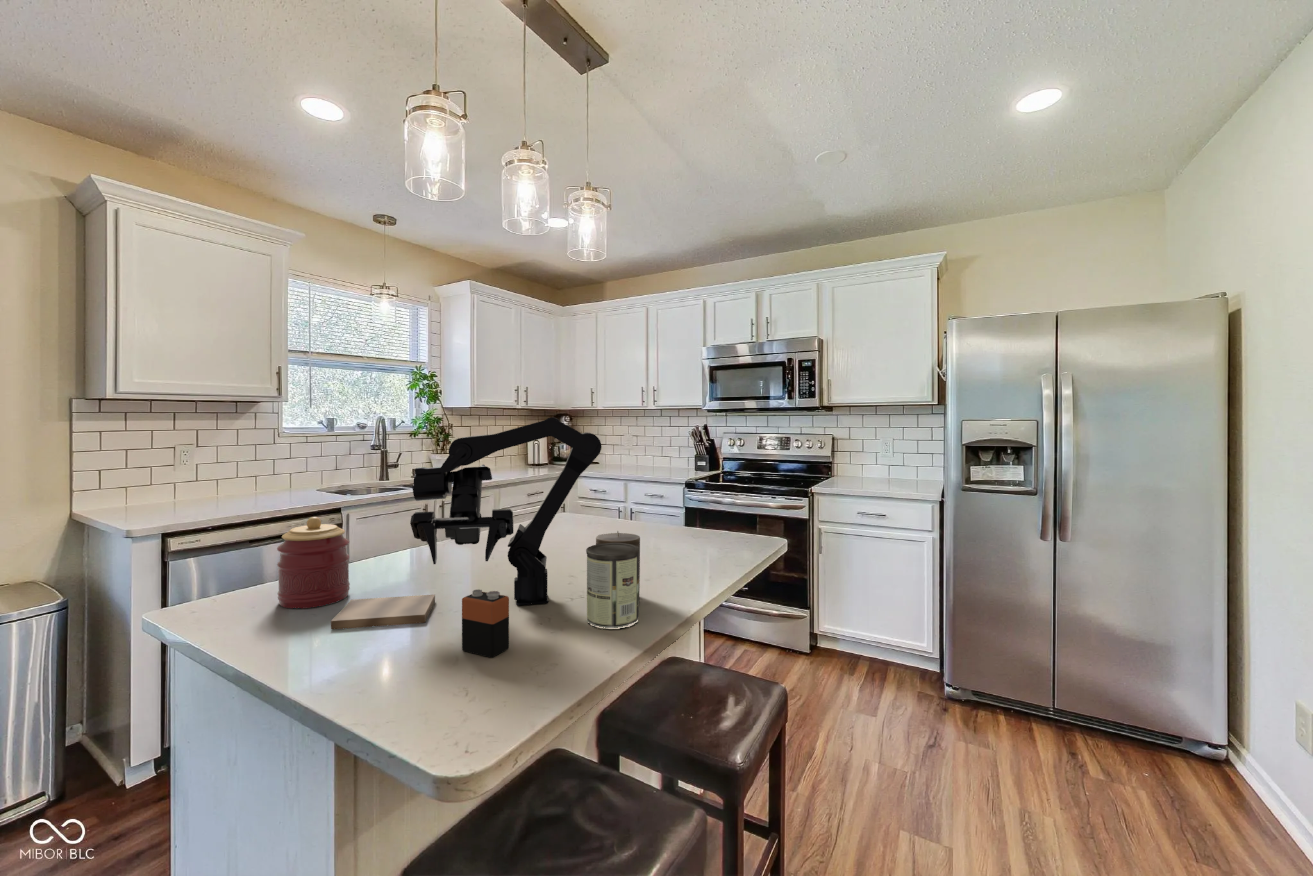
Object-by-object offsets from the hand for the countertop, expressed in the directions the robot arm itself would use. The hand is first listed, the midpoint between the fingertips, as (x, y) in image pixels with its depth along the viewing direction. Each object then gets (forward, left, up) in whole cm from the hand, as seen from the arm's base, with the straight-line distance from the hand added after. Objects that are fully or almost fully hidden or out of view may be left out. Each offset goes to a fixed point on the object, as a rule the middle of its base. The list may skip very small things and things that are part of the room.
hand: (460, 561), depth 101 cm
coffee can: (-28, +3, -12) cm, 31 cm away
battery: (-5, +12, -12) cm, 18 cm away
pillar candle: (-31, -9, -12) cm, 35 cm away
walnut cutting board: (+15, -9, -12) cm, 21 cm away
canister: (+32, -22, -12) cm, 41 cm away
